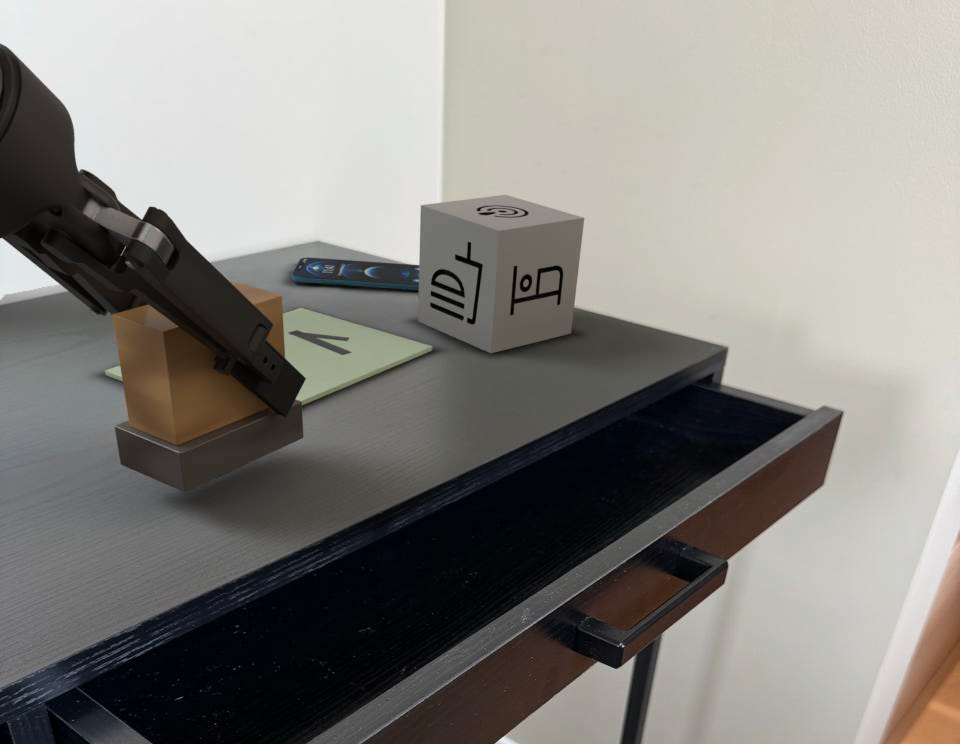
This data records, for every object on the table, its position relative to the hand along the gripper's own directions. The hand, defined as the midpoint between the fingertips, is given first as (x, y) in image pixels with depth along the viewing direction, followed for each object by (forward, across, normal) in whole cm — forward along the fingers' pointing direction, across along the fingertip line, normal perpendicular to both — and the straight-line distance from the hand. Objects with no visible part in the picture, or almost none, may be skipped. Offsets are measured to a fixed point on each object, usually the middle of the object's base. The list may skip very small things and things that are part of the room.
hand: (254, 382), depth 61 cm
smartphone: (+31, -22, +23) cm, 44 cm away
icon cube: (+28, -4, +20) cm, 35 cm away
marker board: (+14, -12, +6) cm, 19 cm away
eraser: (0, 0, -5) cm, 5 cm away
